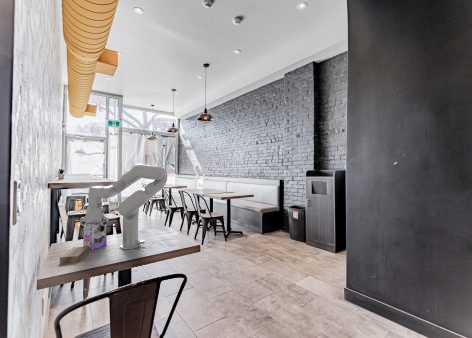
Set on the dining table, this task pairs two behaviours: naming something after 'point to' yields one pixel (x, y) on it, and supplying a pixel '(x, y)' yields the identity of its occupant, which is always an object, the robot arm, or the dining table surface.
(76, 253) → the walnut plinth
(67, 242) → the dining table surface
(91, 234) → the candy box
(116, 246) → the dining table surface
